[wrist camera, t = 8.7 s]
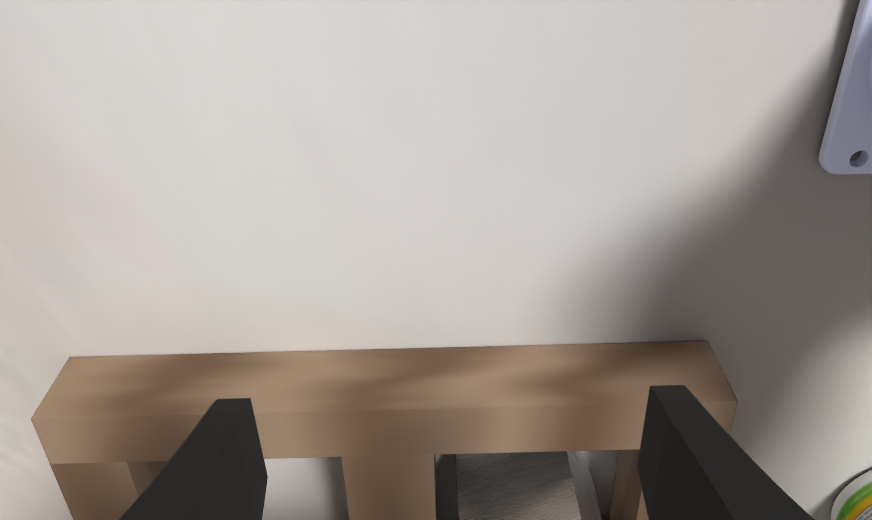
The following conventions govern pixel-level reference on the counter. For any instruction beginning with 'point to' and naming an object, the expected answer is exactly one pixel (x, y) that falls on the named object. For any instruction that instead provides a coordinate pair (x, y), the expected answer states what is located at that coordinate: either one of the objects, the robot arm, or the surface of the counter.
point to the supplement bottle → (854, 500)
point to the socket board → (368, 414)
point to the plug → (525, 486)
